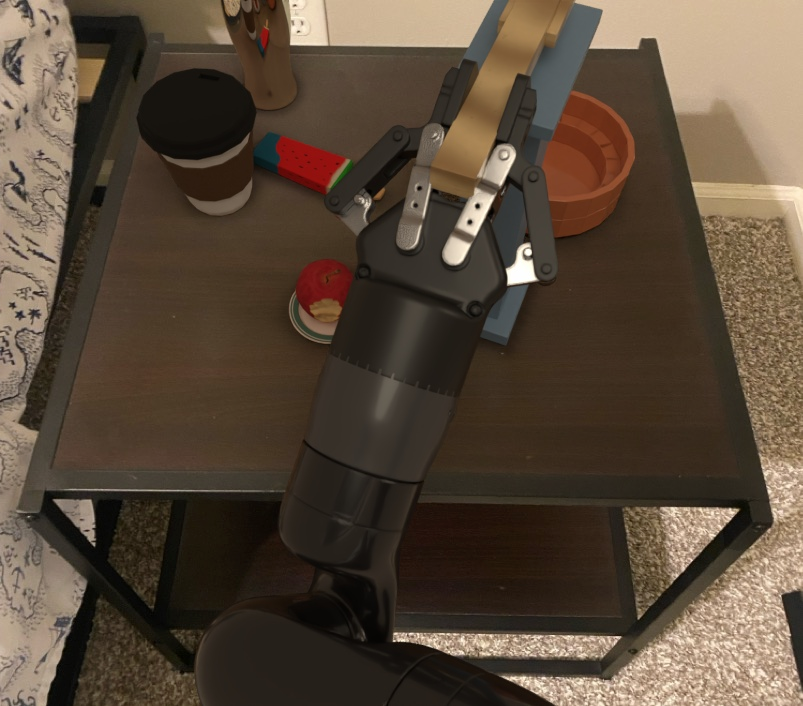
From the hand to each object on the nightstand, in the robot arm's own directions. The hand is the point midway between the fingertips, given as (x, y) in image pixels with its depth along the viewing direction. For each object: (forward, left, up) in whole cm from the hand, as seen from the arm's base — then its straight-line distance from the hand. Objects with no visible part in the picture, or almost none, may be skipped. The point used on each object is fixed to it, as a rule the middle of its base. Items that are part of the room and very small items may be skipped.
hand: (497, 74), depth 38 cm
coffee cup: (+26, -17, -32) cm, 45 cm away
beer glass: (+24, -33, -32) cm, 52 cm away
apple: (+12, -4, -32) cm, 35 cm away
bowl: (-8, -23, -32) cm, 40 cm away
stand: (-2, -7, -32) cm, 33 cm away
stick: (-1, -2, -2) cm, 3 cm away
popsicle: (+16, -21, -32) cm, 42 cm away
